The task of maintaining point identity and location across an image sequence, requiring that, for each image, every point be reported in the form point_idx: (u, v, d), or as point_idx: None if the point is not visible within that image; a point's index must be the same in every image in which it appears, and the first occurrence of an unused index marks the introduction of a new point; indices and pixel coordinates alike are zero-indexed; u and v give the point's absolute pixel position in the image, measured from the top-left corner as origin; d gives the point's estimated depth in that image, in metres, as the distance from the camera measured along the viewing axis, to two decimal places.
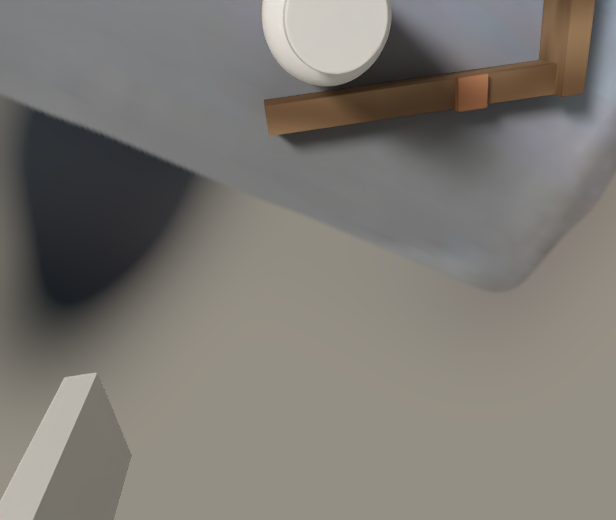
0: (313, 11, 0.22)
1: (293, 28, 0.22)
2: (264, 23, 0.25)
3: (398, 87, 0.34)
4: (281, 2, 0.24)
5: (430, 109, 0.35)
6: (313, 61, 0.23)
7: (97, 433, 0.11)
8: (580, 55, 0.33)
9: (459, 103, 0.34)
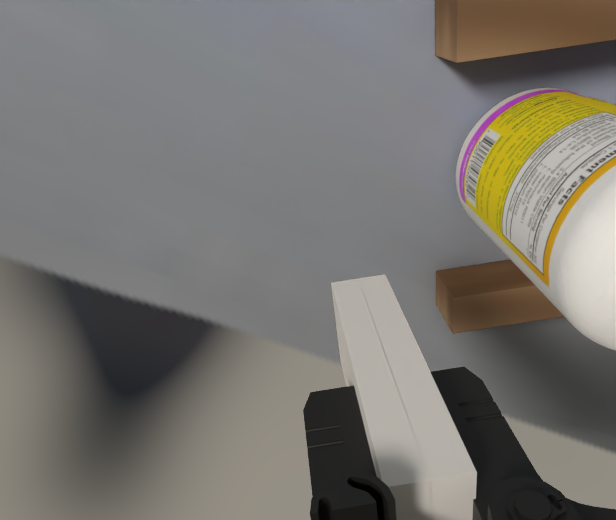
0: None
1: None
2: (569, 273, 0.14)
3: None
4: None
5: None
6: None
7: None
8: None
9: None
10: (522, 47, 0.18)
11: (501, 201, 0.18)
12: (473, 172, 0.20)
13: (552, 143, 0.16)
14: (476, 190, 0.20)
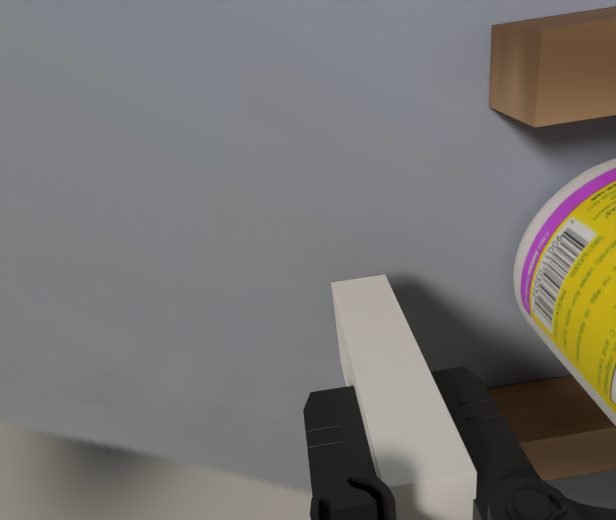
0: None
1: None
2: None
3: None
4: None
5: None
6: None
7: None
8: None
9: None
10: None
11: (611, 350, 0.11)
12: (548, 282, 0.13)
13: None
14: (555, 311, 0.13)
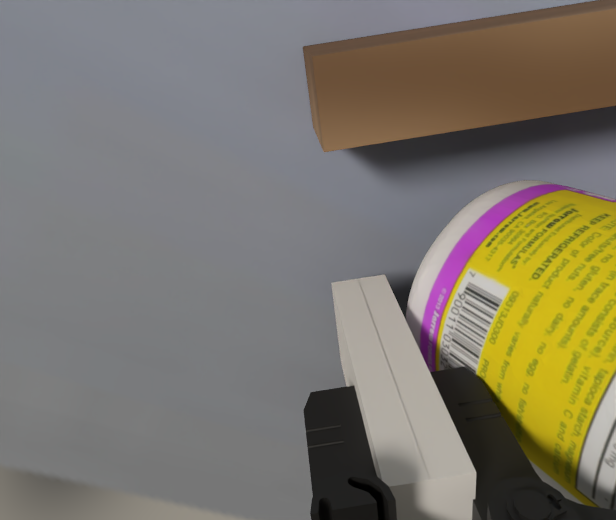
0: None
1: None
2: None
3: None
4: None
5: None
6: None
7: None
8: None
9: None
10: (428, 126, 0.11)
11: (571, 435, 0.09)
12: (461, 350, 0.11)
13: None
14: None
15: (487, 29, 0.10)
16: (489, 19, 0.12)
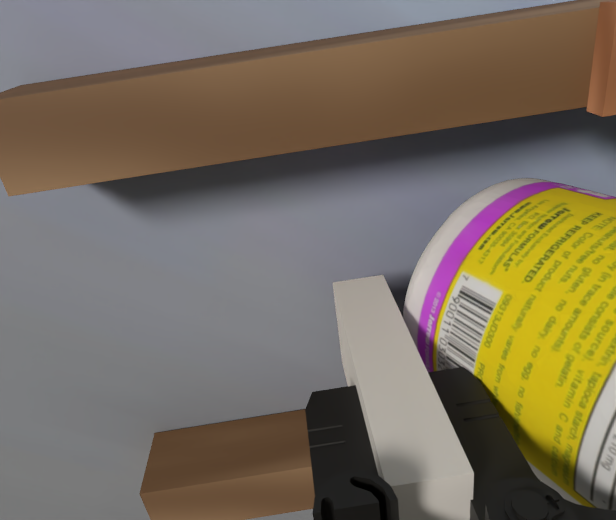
0: None
1: None
2: None
3: None
4: None
5: None
6: None
7: None
8: None
9: None
10: (112, 171, 0.11)
11: (567, 438, 0.09)
12: (457, 353, 0.11)
13: None
14: None
15: (147, 77, 0.10)
16: (197, 60, 0.12)
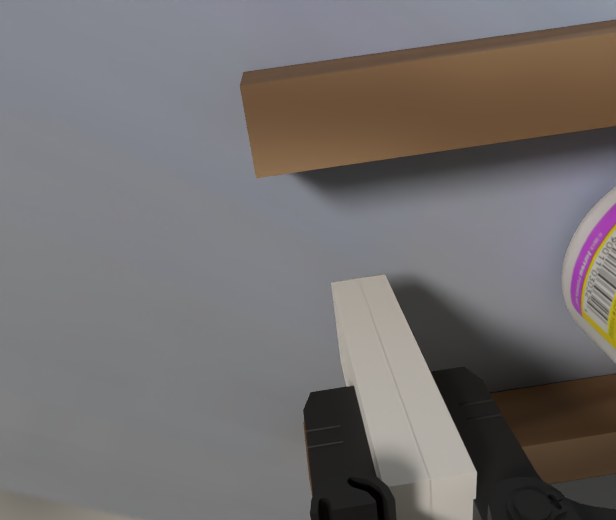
0: None
1: None
2: None
3: (590, 436, 0.16)
4: None
5: None
6: None
7: None
8: None
9: None
10: (358, 154, 0.11)
11: None
12: (604, 282, 0.14)
13: None
14: (611, 311, 0.13)
15: (412, 62, 0.11)
16: (424, 49, 0.12)
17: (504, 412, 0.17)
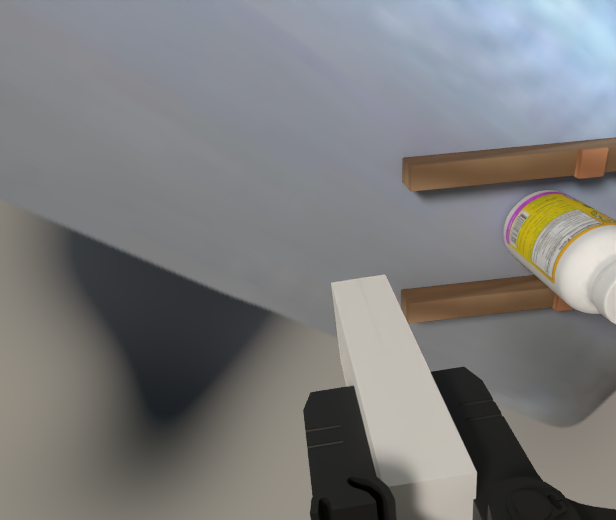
0: None
1: (609, 302, 0.32)
2: (563, 277, 0.35)
3: (512, 292, 0.43)
4: (585, 270, 0.34)
5: (533, 307, 0.44)
6: None
7: None
8: None
9: (558, 306, 0.44)
10: (441, 186, 0.39)
11: (531, 246, 0.39)
12: (515, 230, 0.41)
13: (555, 222, 0.37)
14: (517, 239, 0.41)
15: (458, 161, 0.38)
16: (460, 154, 0.40)
17: (481, 286, 0.45)
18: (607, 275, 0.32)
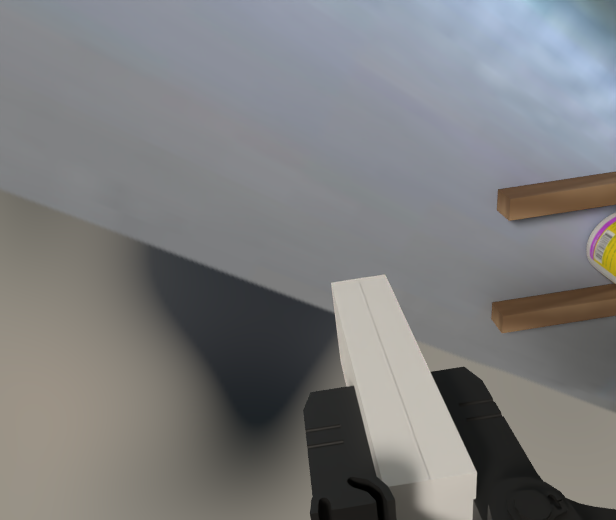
0: None
1: None
2: None
3: (595, 301, 0.48)
4: None
5: (615, 313, 0.49)
6: None
7: None
8: None
9: None
10: (536, 214, 0.43)
11: None
12: (600, 248, 0.46)
13: None
14: (602, 256, 0.45)
15: (552, 192, 0.43)
16: (550, 184, 0.44)
17: (565, 296, 0.50)
18: None
